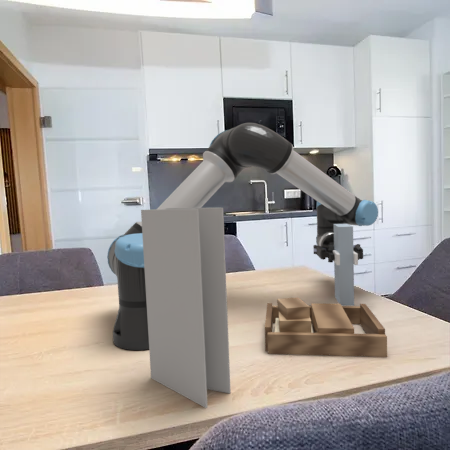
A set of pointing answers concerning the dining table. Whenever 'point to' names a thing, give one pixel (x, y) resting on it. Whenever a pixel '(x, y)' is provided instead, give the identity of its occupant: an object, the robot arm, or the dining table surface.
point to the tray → (329, 333)
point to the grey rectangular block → (344, 264)
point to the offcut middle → (294, 325)
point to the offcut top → (293, 308)
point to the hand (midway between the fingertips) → (347, 259)
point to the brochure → (187, 300)
